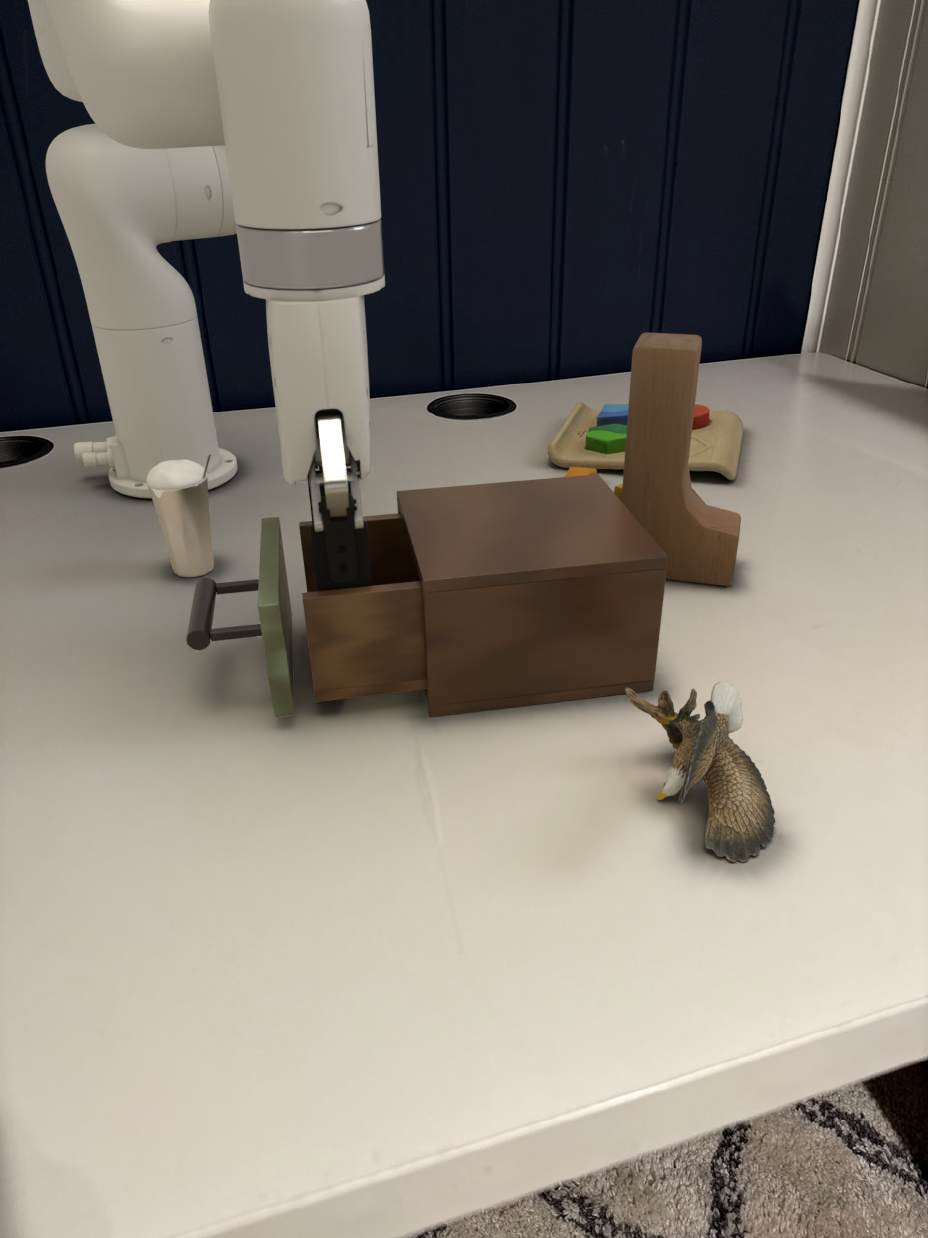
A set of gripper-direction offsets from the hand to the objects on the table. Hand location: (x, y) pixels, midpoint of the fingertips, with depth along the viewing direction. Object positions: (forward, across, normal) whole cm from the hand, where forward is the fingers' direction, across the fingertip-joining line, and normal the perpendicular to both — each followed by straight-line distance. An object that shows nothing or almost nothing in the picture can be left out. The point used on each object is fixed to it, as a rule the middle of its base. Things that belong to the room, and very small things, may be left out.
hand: (340, 553), depth 57 cm
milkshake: (+9, -17, -11) cm, 22 cm away
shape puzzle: (+9, -33, +33) cm, 47 cm away
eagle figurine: (+8, +17, +18) cm, 26 cm away
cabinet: (+8, 0, +12) cm, 14 cm away
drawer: (+8, 0, -1) cm, 8 cm away
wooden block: (+9, -9, +27) cm, 29 cm away
